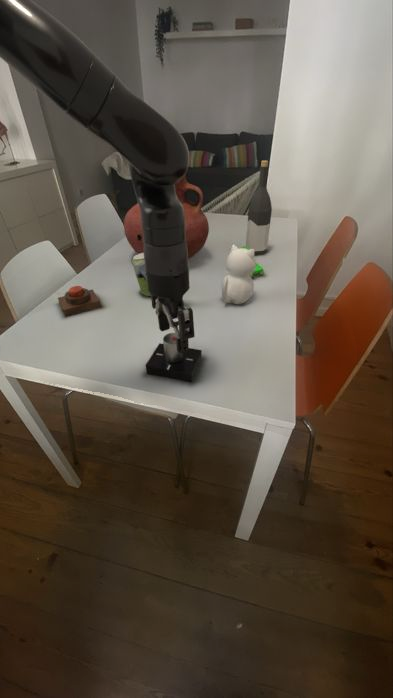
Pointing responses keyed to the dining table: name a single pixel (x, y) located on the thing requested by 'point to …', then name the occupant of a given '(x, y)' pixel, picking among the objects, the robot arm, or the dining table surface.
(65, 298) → the button block
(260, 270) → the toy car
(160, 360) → the panel
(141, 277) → the beverage can
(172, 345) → the hob knob
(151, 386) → the dining table surface
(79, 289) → the button
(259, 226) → the wine bottle
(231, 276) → the cat figurine
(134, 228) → the clay pot
